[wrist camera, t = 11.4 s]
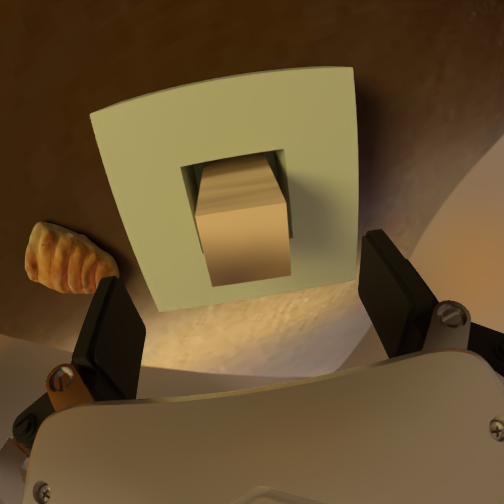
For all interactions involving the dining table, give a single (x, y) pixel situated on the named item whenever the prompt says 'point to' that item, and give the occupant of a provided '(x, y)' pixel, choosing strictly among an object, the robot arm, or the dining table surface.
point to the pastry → (66, 260)
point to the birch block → (242, 221)
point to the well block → (229, 145)
